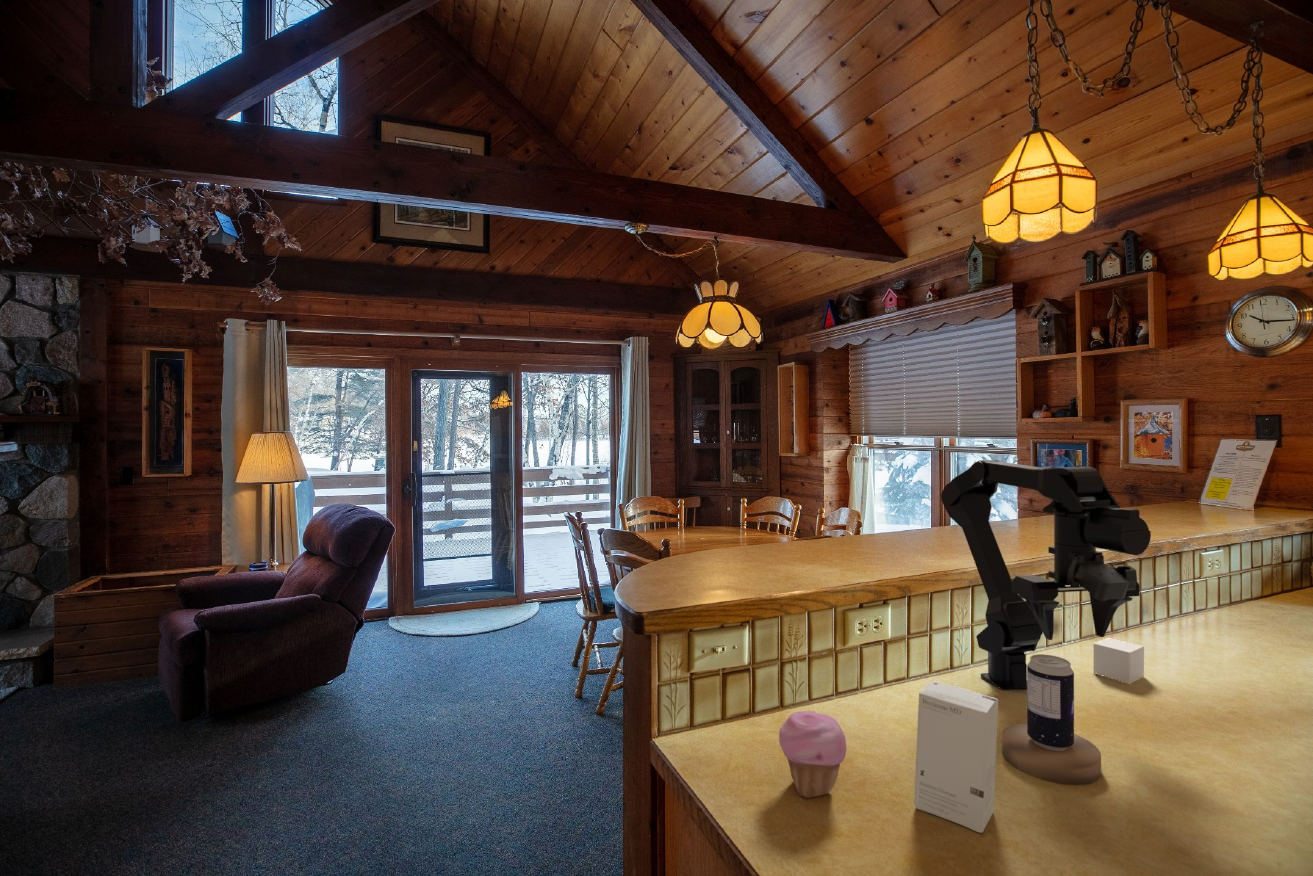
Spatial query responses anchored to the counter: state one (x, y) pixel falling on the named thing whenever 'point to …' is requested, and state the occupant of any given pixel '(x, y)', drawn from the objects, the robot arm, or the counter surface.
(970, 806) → the skincare box
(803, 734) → the cupcake
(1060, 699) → the beverage can
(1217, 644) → the counter surface
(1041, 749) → the walnut base
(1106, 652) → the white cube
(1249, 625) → the counter surface
